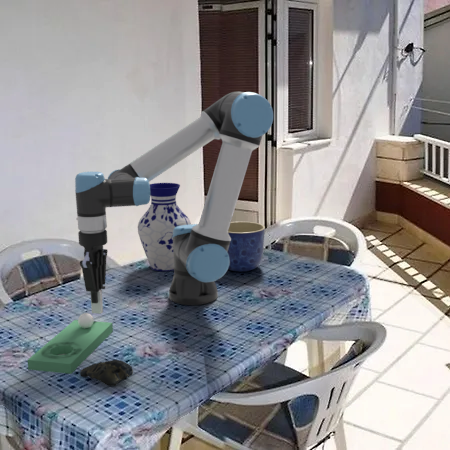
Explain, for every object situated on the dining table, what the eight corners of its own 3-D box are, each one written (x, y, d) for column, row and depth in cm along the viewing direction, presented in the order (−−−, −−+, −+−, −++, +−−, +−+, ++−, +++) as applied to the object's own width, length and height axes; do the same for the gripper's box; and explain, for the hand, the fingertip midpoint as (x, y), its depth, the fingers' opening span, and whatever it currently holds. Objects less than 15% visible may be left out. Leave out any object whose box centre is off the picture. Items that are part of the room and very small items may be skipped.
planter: (266, 275, 212) (266, 232, 209) (216, 275, 213) (216, 233, 209) (263, 261, 229) (263, 221, 225) (218, 261, 229) (217, 221, 225)
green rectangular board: (75, 328, 169) (74, 319, 169) (112, 331, 167) (112, 322, 166) (28, 369, 145) (27, 359, 145) (71, 373, 143) (70, 364, 142)
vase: (198, 261, 229) (196, 181, 222) (183, 277, 211) (180, 191, 204) (150, 258, 234) (146, 180, 227) (131, 273, 216) (127, 189, 209)
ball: (96, 325, 165) (95, 311, 164) (90, 331, 161) (89, 317, 160) (82, 324, 165) (81, 310, 164) (76, 330, 162) (75, 315, 161)
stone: (90, 369, 146) (88, 348, 145) (139, 377, 141) (138, 356, 140) (73, 382, 140) (71, 360, 139) (124, 391, 135) (123, 369, 134)
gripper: (89, 223, 172) (94, 303, 177) (68, 235, 159) (74, 320, 165) (115, 224, 170) (119, 305, 175) (95, 236, 158) (100, 322, 163)
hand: (97, 312), depth 170 cm, fingers closed
